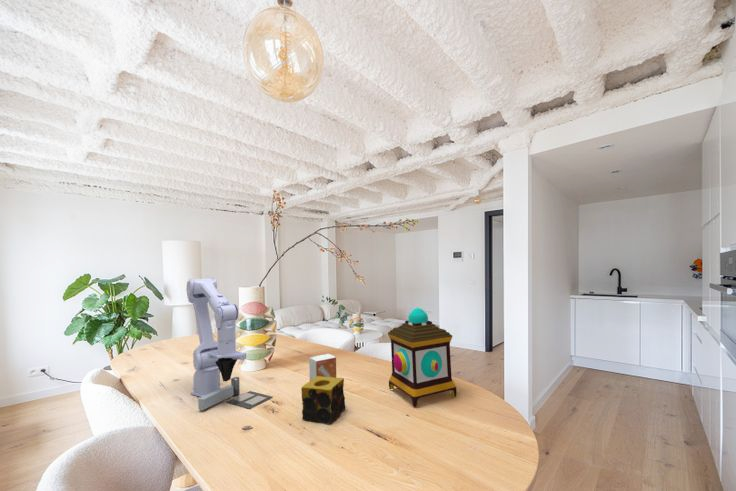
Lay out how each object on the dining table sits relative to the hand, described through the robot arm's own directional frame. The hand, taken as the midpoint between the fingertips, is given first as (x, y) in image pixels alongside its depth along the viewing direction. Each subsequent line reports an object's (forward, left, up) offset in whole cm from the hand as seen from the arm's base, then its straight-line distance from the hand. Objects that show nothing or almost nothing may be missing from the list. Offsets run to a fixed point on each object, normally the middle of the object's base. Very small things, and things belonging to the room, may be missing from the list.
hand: (226, 380), depth 105 cm
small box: (+25, +21, -8) cm, 34 cm away
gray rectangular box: (-3, -1, -7) cm, 8 cm away
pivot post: (-4, +6, -8) cm, 11 cm away
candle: (+35, +9, -8) cm, 37 cm away
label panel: (+4, +6, -8) cm, 11 cm away
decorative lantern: (+57, +36, -8) cm, 68 cm away
